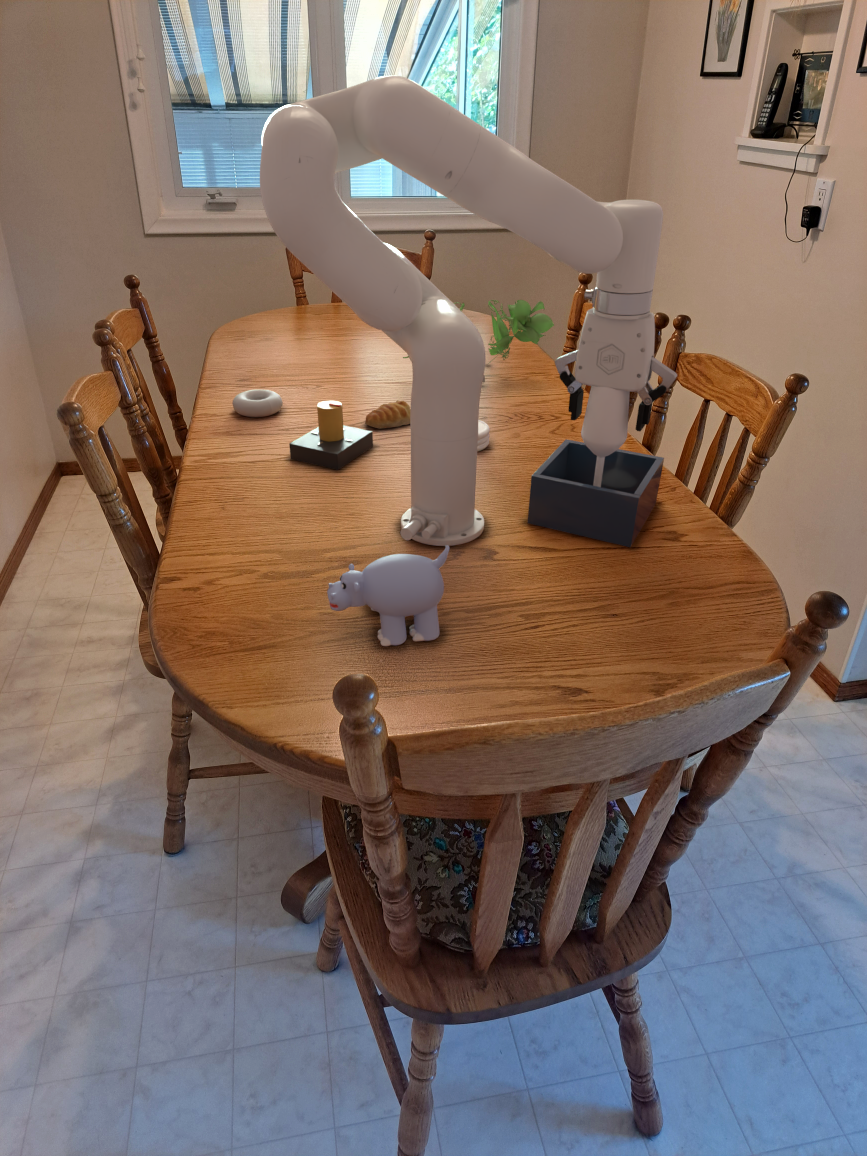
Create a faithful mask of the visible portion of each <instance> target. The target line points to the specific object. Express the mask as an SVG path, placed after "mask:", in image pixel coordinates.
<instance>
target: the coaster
mask: <svg viewBox="0 0 867 1156" xmlns="http://www.w3.org/2000/svg"><path fill="white" fill-rule="evenodd" d="M490 431H491V428H490V425H489V424H488V423H487V422H485V421H483V420H481V419H478V445H477V452H480V451H483V450H484V449H486V448H487V447H488V446H489V444H490Z"/></svg>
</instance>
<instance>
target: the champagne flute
mask: <svg viewBox="0 0 867 1156" xmlns="http://www.w3.org/2000/svg"><path fill="white" fill-rule="evenodd" d="M630 395H631V394H630V391H622V390H616V389H613V388H609V387H595V386H590V390H589V395H588V399H587V404H586V407H585V413H584V417H583V418H584V419H583V422H582V426H581V431H580V436H581V439H582V442H583V443H585V445H586V446H587V447H588V448H589V449H590V450H591V451H592V453H593V454H595V455H596V456H597V460H596V468H595V475H594V483H593V486H597V487H601V481H602V474H603V467H604V460H605V457H606V456H608V455H610V454H612V453H613V452H615V451H616V450H618V449H621V447H622V446H623V445H624V444H625V443H626V441H627V439H628V431H629V430H628V428H629V414H630V413H629V411H630Z"/></svg>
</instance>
